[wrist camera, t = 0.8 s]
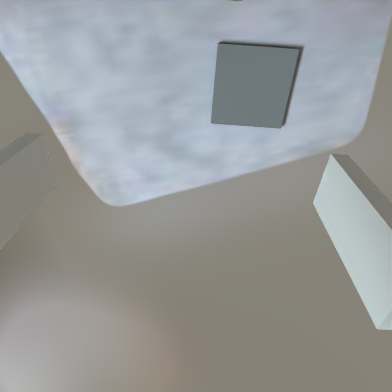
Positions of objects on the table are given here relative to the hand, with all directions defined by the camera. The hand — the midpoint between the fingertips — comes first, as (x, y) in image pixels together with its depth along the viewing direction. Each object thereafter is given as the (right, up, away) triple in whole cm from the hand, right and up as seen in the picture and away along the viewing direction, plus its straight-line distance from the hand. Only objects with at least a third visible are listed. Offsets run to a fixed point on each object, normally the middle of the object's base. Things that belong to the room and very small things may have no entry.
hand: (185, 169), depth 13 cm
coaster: (+7, +12, +20) cm, 25 cm away
